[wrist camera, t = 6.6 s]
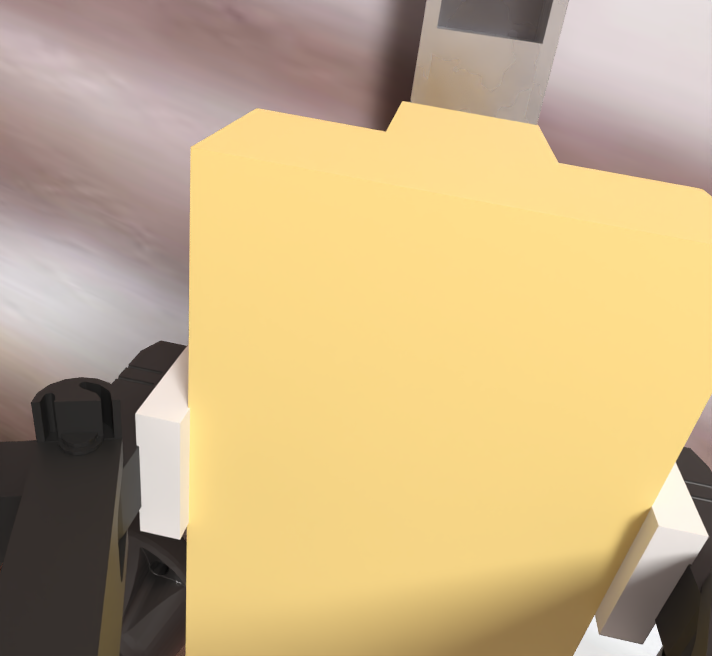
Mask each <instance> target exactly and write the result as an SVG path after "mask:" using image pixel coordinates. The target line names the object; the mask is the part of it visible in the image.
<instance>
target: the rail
mask: <svg viewBox="0 0 712 656" xmlns="http://www.w3.org/2000/svg"><path fill="white" fill-rule="evenodd" d="M568 2H569V0H427V1H426V7H425V13H424V20H423V26H422V32H421V38H420V44H419V51H418V57H417V63H416V69H415V75H414V82H413V88H412V94H411V100H410V103H416V104H421V105H427V106H433V107H438V108H444V109H449V110H455V111H461V112H466V113H472V114H478V115H483V116H489V117H494V118H500V119H506V120H511V121H517V122H522V123H528V124H534V125H537V122H538V118H539V114H540V111H541V107H542V103H543V99H544V95H545V91H546V87H547V84H548V80H549V76H550V72H551V68H552V64H553V60H554V56H555V53H556V49H557V45H558V41H559V37H560V33H561V29H562V25H563V22H564V18H565V14H566V10H567V6H568Z"/></svg>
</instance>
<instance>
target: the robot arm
mask: <svg viewBox="0 0 712 656" xmlns="http://www.w3.org/2000/svg"><path fill="white" fill-rule="evenodd" d="M188 370H189V344H188V345H187V346H184V345H179V344H174V343H170V342H165V341H159V342H157V343H155V344H153V345H151V346H149V347H148V348H146V349H144V350H142V351H140V353H139V354H138V355H137V356H136V357H135V358H134V359H133V360H132V362H131V363H130V364H129V366H128V368H127V367H126V368H125V370H124V371H123V372H122V373H121V374H120V375H119V378H118V379H116V380H115V381H114V382H113V383H112V384H110V383H108V382H105V381H102V380H99V379H94V378H83V377H81V378H72V379H65V380H62V381H59V382H56V383H53V384H50V385H48V386H47V387H45V388H44V389H43V390H41V391H40V392H38V393H37V394H36V396H35V397H34V399H33V400H32V402H31V405H32V412H33V419H34V426H35V432H36V439H37V440H34V441H20V442H0V566H1V564H2V563H3V565H2V568H1V572H0V656H175V655H176V654H177V653H178V652H179V651H180V649H181V648H182V647H183V646H184V645H185V643H186V571H187V542H186V541H185V540H184V539H183V538H182V535H183V533H184V531H185V529H186V527H187V525H188V523H189V453H190V408H188ZM595 617H596V622H597V627H598V632H599V635H603V636H607V637H612V638H616V639H621V640H625V641H629V642H634V643H638V644H643V643H644V641H645V640H646V638H647V637H648V635H649V633H650V632H651V630H652V628H653V627H654V625H655V623H656V625H657V628H658V632H659V635H660V638H661V642H662V645H663V646H662V648H661V649H660V651H659V652H658V654H657V656H712V472H711V470H710V468H709V467H708V466H707V465H706V464H705V463H704V462H703V461H702V460H701V459H700V458H699V457H698V456H697V455H696V454H695V453H694V452H693V451H692V450H691V449H690V448H686V447H683V449H682V451H681V453H680V454H679V456H678V458H677V460H676V462H675V464H674V466H673V468H672V470H671V471H670V473H669V475H668V477H667V479H666V481H665V483H664V485H663V487H662V488H661V490H660V492H659V494H658V496H657V498H656V500H655V502H654V504H653V505H652V507H651V509H650V511H649V513H648V515H647V517H646V519H645V521H644V522H643V524H642V526H641V528H640V530H639V532H638V534H637V536H636V538H635V539H634V541H633V543H632V545H631V547H630V549H629V551H628V553H627V555H626V556H625V558H624V560H623V562H622V564H621V566H620V568H619V570H618V572H617V573H616V575H615V577H614V579H613V581H612V583H611V585H610V587H609V589H608V590H607V592H606V594H605V596H604V598H603V600H602V602H601V604H600V606H599V607H598V609H597V611H596V613H595Z"/></svg>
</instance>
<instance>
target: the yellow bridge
mask: <svg viewBox="0 0 712 656" xmlns="http://www.w3.org/2000/svg"><path fill="white" fill-rule="evenodd" d="M711 394H712V197H711V196H710V195H709V194H708V193H706V192H705V191H704V190H703V189H699V188H693V187H688V186H682V185H677V184H671V183H666V182H660V181H655V180H649V179H644V178H638V177H633V176H627V175H622V174H616V173H611V172H605V171H600V170H594V169H589V168H583V167H577V166H572V165H566V164H561V163H558V161H557V160H556V158H555V156H554V154H553V152H552V150H551V148H550V147H549V145H548V143H547V141H546V139H545V137H544V135H543V134H542V132H541V130H540V128H539V126H538V125H534V124H528V123H522V122H517V121H511V120H506V119H500V118H494V117H489V116H483V115H478V114H472V113H466V112H461V111H455V110H449V109H444V108H438V107H433V106H427V105H421V104H416V103H410V102H405V101H402V103H401V105H400V106H399V108H398V110H397V112H396V114H395V116H394V118H393V120H392V121H391V123H390V125H389V127H388V129H387V131H386V132H385V131H379V130H374V129H368V128H363V127H357V126H352V125H346V124H341V123H335V122H330V121H324V120H319V119H313V118H308V117H302V116H297V115H291V114H286V113H280V112H274V111H269V110H263V109H258V108H257V109H255V110H253V111H251V112H250V113H248V114H246V115H245V116H243V117H241V118H240V119H238V120H236V121H234V122H233V123H231V124H229V125H228V126H226V127H224V128H223V129H221V130H219V131H217V132H216V133H214V134H212V135H211V136H209V137H207V138H205V139H204V140H202V141H200V142H199V143H197V144H195V145H194V146H192V147H191V170H190V270H189V370H188V408H190V453H189V523H188V525H187V571H186V656H573V655H574V653H575V651H576V649H577V647H578V645H579V643H580V641H581V640H582V638H583V636H584V634H585V632H586V630H587V628H588V626H589V624H590V623H591V621H592V619H593V617H594V615H595V613H596V611H597V609H598V607H599V606H600V604H601V602H602V600H603V598H604V596H605V594H606V592H607V590H608V589H609V587H610V585H611V583H612V581H613V579H614V577H615V575H616V573H617V572H618V570H619V568H620V566H621V564H622V562H623V560H624V558H625V556H626V555H627V553H628V551H629V549H630V547H631V545H632V543H633V541H634V539H635V538H636V536H637V534H638V532H639V530H640V528H641V526H642V524H643V522H644V521H645V519H646V517H647V515H648V513H649V511H650V509H651V507H652V505H653V504H654V502H655V500H656V498H657V496H658V494H659V492H660V490H661V488H662V487H663V485H664V483H665V481H666V479H667V477H668V475H669V473H670V471H671V470H672V468H673V466H674V464H675V462H676V460H677V458H678V456H679V454H680V453H681V451H682V449H683V447H684V445H685V443H686V441H687V439H688V437H689V436H690V434H691V432H692V430H693V428H694V426H695V424H696V422H697V420H698V419H699V417H700V415H701V413H702V411H703V409H704V407H705V405H706V403H707V402H708V400H709V398H710V396H711Z"/></svg>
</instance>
